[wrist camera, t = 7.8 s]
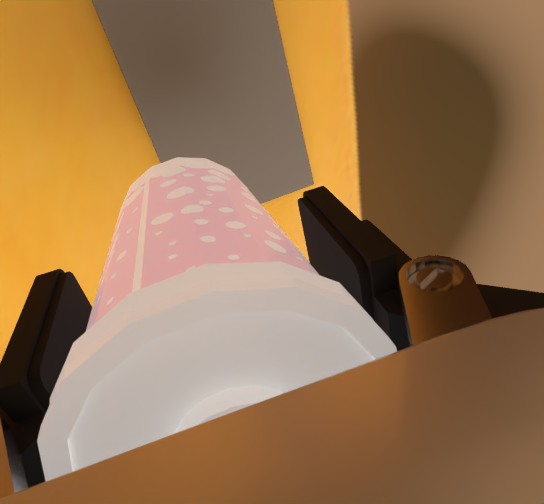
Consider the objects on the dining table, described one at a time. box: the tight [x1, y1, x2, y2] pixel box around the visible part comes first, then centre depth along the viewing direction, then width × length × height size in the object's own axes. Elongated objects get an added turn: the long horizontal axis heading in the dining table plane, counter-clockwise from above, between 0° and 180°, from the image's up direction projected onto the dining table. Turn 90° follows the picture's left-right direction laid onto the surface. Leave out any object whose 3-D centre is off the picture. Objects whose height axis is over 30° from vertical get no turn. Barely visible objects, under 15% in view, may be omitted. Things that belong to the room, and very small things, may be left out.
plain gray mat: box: [92, 0, 314, 204], centre depth 27 cm, size 20×10×1 cm, turn 15°
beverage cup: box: [37, 157, 397, 481], centre depth 9 cm, size 6×6×14 cm
